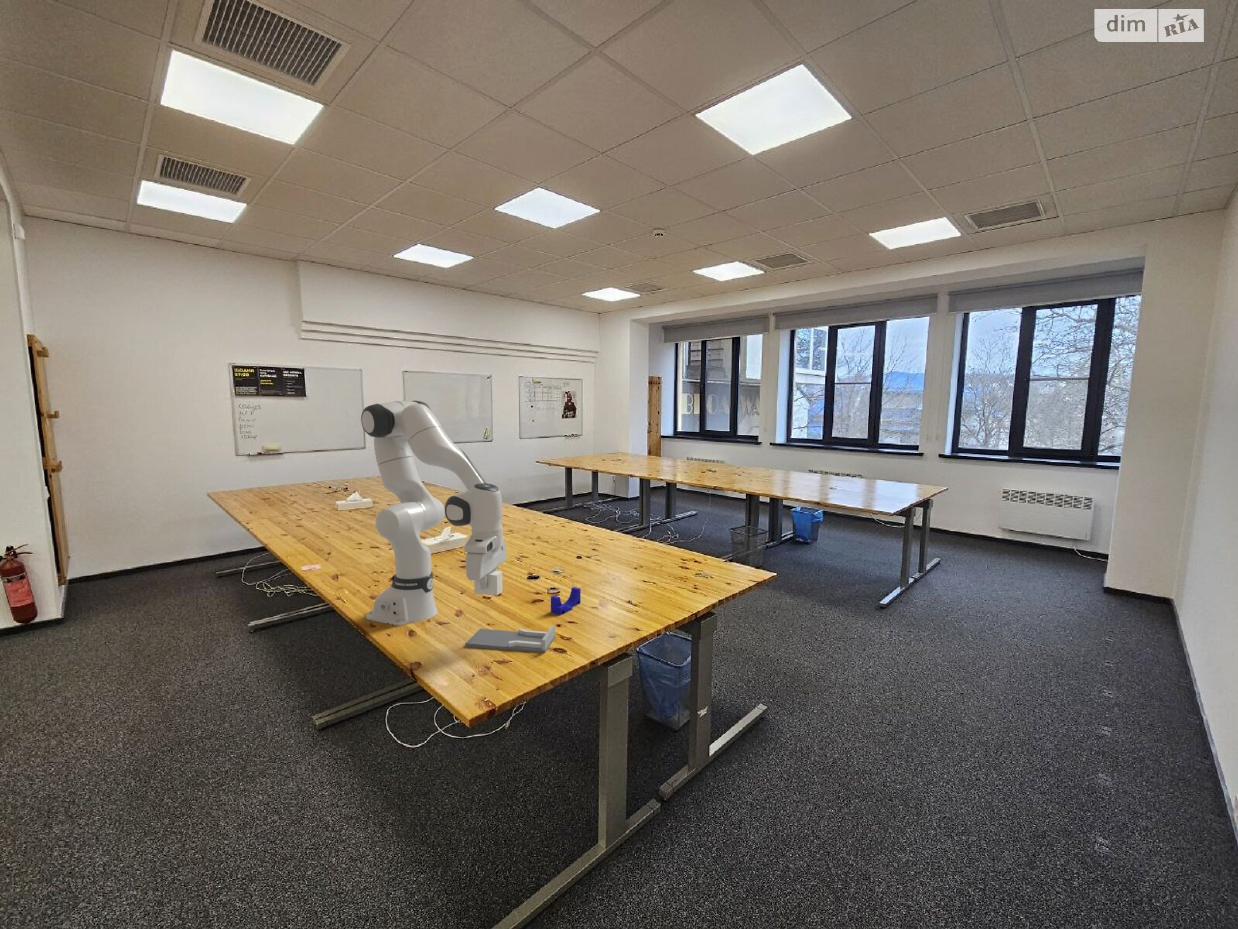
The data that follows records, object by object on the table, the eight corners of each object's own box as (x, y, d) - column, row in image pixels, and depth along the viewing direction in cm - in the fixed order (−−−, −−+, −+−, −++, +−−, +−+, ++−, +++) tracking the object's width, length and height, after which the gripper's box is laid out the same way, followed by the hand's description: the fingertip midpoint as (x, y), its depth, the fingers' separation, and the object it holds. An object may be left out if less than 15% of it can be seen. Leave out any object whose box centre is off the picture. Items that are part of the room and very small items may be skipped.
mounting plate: (465, 647, 145) (465, 633, 145) (480, 632, 155) (480, 619, 155) (545, 654, 141) (544, 640, 141) (555, 638, 151) (555, 625, 151)
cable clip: (560, 616, 168) (560, 599, 167) (550, 613, 171) (550, 596, 170) (583, 606, 178) (583, 589, 177) (574, 603, 180) (574, 586, 180)
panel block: (474, 593, 147) (474, 573, 146) (480, 589, 150) (480, 569, 150) (497, 595, 145) (496, 575, 145) (502, 590, 149) (502, 571, 149)
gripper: (491, 530, 157) (492, 573, 158) (461, 548, 137) (462, 596, 138) (511, 531, 156) (511, 574, 157) (482, 549, 136) (483, 598, 137)
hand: (488, 585), depth 148 cm, fingers closed on panel block, 4 cm apart
